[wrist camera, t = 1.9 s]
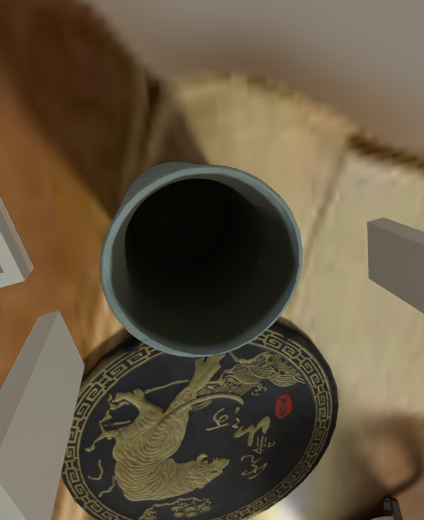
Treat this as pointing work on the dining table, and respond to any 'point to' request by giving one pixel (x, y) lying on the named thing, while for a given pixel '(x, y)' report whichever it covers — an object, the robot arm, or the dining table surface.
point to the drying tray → (12, 252)
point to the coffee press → (385, 517)
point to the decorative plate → (199, 429)
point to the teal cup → (200, 258)
